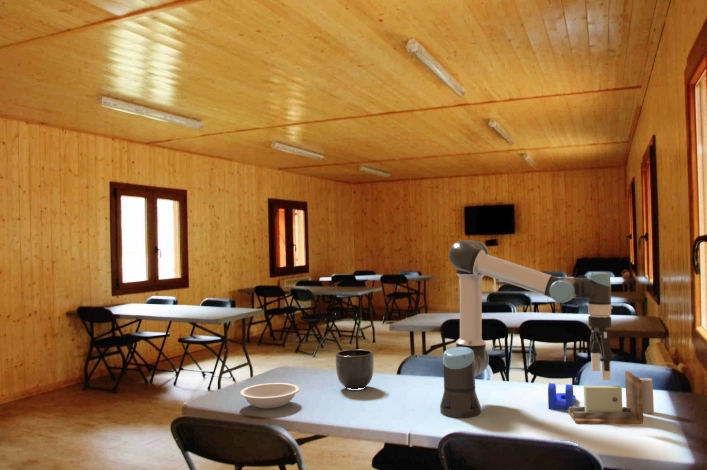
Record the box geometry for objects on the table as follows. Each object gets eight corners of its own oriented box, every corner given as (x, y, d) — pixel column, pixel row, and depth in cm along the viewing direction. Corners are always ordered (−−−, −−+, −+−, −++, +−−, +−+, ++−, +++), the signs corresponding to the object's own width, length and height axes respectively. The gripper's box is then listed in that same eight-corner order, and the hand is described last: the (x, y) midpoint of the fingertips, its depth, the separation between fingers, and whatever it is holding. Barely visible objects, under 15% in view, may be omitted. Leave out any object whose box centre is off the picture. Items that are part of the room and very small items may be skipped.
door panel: (587, 416, 203) (586, 388, 203) (584, 413, 206) (583, 385, 206) (623, 416, 201) (622, 388, 201) (620, 413, 204) (619, 385, 204)
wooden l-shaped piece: (575, 423, 199) (574, 379, 199) (567, 411, 212) (565, 371, 213) (643, 424, 195) (641, 380, 195) (630, 412, 209) (628, 371, 209)
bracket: (572, 411, 213) (571, 387, 213) (548, 409, 217) (547, 385, 217) (576, 399, 229) (575, 376, 229) (554, 397, 233) (553, 375, 233)
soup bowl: (228, 408, 232) (228, 391, 232) (274, 395, 250) (274, 380, 250) (265, 418, 216) (265, 401, 216) (312, 404, 234) (311, 388, 234)
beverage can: (648, 414, 206) (646, 381, 206) (636, 411, 210) (634, 378, 210) (656, 412, 208) (655, 379, 208) (644, 409, 212) (643, 376, 212)
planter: (375, 392, 249) (373, 355, 249) (335, 393, 249) (334, 357, 249) (374, 383, 266) (373, 348, 266) (337, 384, 266) (336, 349, 266)
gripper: (621, 320, 192) (622, 384, 191) (601, 311, 216) (602, 367, 216) (598, 320, 193) (599, 383, 192) (580, 311, 217) (581, 367, 217)
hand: (600, 375), depth 204 cm, fingers open, 13 cm apart
